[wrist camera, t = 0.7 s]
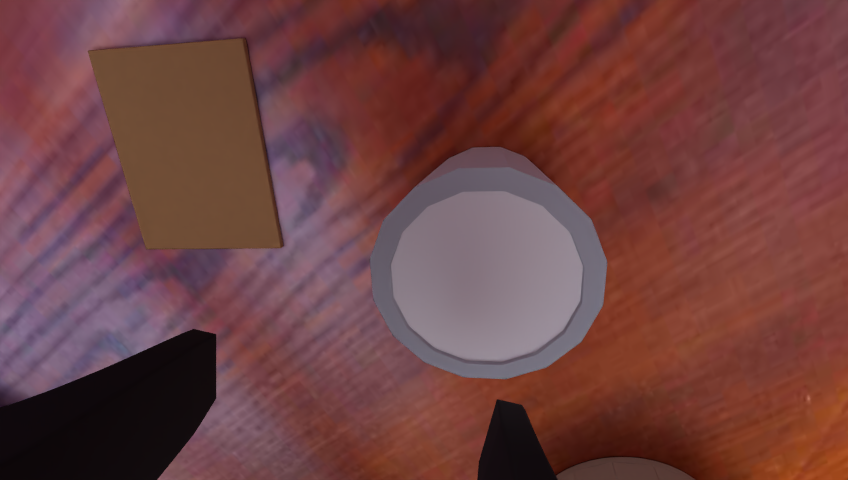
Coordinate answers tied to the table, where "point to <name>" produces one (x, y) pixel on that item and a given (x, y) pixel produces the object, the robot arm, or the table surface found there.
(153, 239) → the mat
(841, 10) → the table surface
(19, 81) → the table surface
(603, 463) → the tin
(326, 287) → the table surface
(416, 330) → the pale grey cylinder
